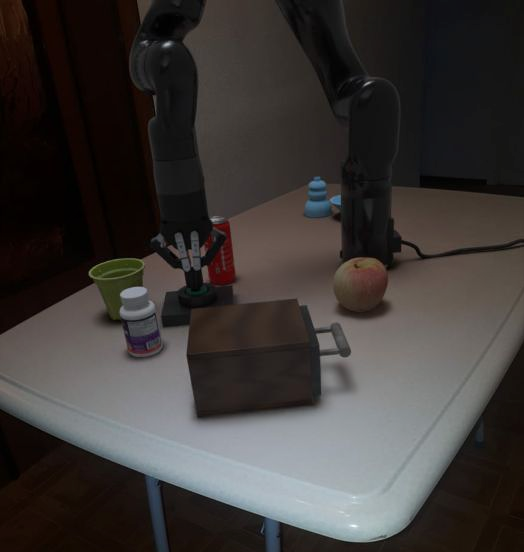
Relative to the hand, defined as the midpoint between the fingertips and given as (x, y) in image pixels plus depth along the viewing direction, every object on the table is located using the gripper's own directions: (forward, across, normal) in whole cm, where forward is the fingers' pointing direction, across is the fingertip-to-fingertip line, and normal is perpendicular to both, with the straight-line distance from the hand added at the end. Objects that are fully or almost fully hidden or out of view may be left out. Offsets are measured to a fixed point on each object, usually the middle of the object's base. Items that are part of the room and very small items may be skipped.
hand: (195, 289), depth 95 cm
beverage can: (+4, +4, +13) cm, 14 cm away
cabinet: (+4, +8, -25) cm, 27 cm away
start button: (+2, 0, 0) cm, 2 cm away
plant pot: (+4, -13, +2) cm, 14 cm away
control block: (+4, 0, 0) cm, 4 cm away
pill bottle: (+4, -8, -12) cm, 15 cm away
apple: (+4, +27, -5) cm, 28 cm away
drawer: (+3, +12, -25) cm, 28 cm away
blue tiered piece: (+4, +33, +48) cm, 58 cm away
